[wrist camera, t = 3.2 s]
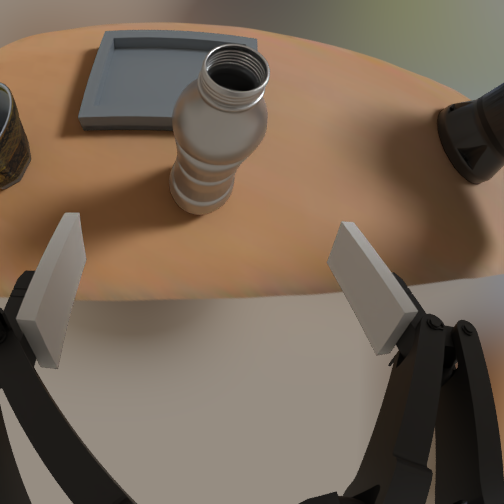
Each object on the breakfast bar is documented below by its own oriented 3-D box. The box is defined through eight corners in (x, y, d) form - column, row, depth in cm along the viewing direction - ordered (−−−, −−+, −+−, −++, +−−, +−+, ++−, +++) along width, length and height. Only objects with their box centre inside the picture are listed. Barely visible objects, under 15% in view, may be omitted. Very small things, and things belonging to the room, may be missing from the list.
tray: (251, 52, 38) (257, 39, 35) (252, 136, 36) (259, 124, 33) (107, 45, 33) (105, 31, 30) (83, 130, 31) (77, 117, 28)
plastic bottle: (162, 212, 32) (155, 102, 13) (177, 154, 34) (194, 17, 14) (222, 225, 34) (288, 135, 15) (234, 168, 35) (301, 45, 16)
